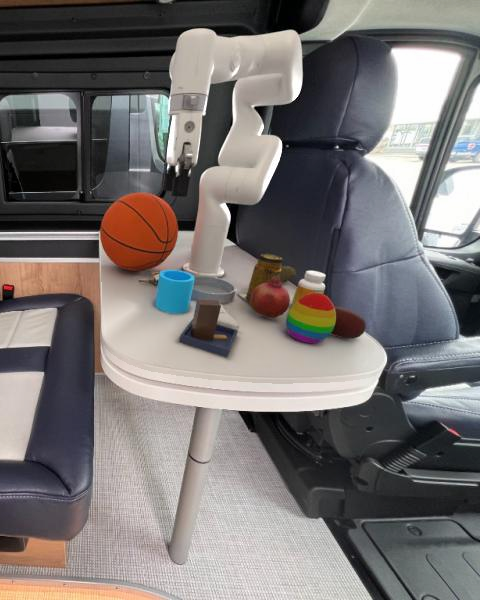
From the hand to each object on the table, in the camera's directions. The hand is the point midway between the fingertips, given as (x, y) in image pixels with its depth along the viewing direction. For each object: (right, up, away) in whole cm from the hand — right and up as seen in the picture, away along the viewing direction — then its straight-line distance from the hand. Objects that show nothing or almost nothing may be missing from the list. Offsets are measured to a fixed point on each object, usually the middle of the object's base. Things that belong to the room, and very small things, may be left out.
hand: (174, 193), depth 74 cm
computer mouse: (+3, -20, +19) cm, 28 cm away
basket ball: (-6, -13, +33) cm, 36 cm away
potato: (+35, -26, -6) cm, 44 cm away
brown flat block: (+5, -32, -8) cm, 33 cm away
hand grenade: (+43, -16, +23) cm, 51 cm away
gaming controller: (+9, -30, 0) cm, 31 cm away
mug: (+2, -25, +8) cm, 27 cm away
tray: (+5, -33, -7) cm, 34 cm away
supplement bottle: (+34, -27, +7) cm, 44 cm away
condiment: (+26, -25, +11) cm, 37 cm away
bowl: (+13, -23, +14) cm, 30 cm away
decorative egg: (+26, -32, -5) cm, 42 cm away
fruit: (+22, -29, +3) cm, 36 cm away
